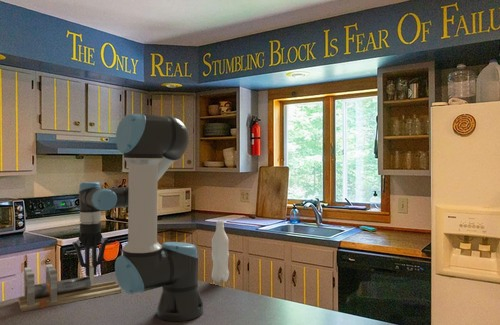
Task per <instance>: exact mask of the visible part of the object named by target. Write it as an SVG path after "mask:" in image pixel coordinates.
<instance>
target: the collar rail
mask: <svg viewBox="0 0 500 325" xmlns="http://www.w3.org/2000/svg"><path fill="white" fill-rule="evenodd" d="M23 273H24V274H23V276H24V277H23V278H24V296H18V300H17V301H18V304H19V309H20V311H21V312H26V311H32V310H35V309H44V308H47V307H52V306H56V305H57V306H58V305H63V304H68V303H73V302H78V301H83V300H88V299H93V298H94V297H95V298H100V297H104V296H110V295H115V294H120V292H121V293H122V288H121V287H120V285H119V283H117V282H116V280H111V281H105V282H101V283H98V282H97V283H94V285H91V288H90V289H87V290H81V291H75V292H70V293H64V294H59V295H57V281H58V270H57V269H56V268H55V267H54V265H53V264H52V263H51V264H50V263H49V264H45V283H48V282H50V296H48V297H42V298H36V299H35V285H36V284H35V273H34V271H33V269H32V267H30V266H28V267H24V272H23ZM99 296H100V297H99Z"/></svg>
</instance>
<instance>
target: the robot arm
mask: <svg viewBox="0 0 500 325" xmlns="http://www.w3.org/2000/svg"><path fill="white" fill-rule="evenodd" d="M116 128H117V129H116V134H115V145H116V148H117V150H118V151H119V152H120V153H122V154H123V159H124V160H125V162H126V163H127V164H128V186H125V187H123V186H121V187H106V188H104V187H103V188H102V186H101V183H100V182H99V181H84V182H80V184H79V189H78V190H79V191H78V195H79V196H78V198H79V223H80V224H79V236H78V239H77V240H76V241H73V242H72V244H71V245H73V247H74V248H75V250H76V251H75V252H76V256H77V258H78V262H79V265H80V267H82V268H84V270H85V277H87V276H89V277H90V281H91V285H94V284H95V276H96V275H97V270H98V269H97V267H98V266H100V265H101V264H102V262H103V258H104V255H105V250H106V246H107V244H108V243H109V239H108V238H107V237H104V236H103V234H102V222H101V220H102V213H101V212H102V211H110V210H111V209H119V208H127V209H128V210H127V211H128V213H127V214H128V215H127V216H128V220H127V222H128V223H127V224H128V225H127V228H128V230H127V243H126V244H125V245H124V246H123V247H122V255H119V256H118V257H117V258H116V259H115V262H114V271H115V272H114V273H115V276H116V280H117V282H118V283H117V284H119V287H120V288H121V290H123V292H125V293H127V294H129V295H133V294H139V293H140V294H141V293H142V294H143V293H144V292H147V291H148V292H149V291H150V290H155V289H158V288H162V290H161V294H160V297H159V301H158V304H157V308H156V315H157V317H158V318H159V319H161V320H163V321H167V322H185V321H190V320H194V319H197V318H198V317H200V316H202V315H203V314H204V302H203V300H202V297H201V294H200V290H199V275H198V273H199V271H198V270H199V267H198V265H199V263H198V262H199V260H198V259H199V254H198V253H199V252H198V248H197V246H196V245H195V244H193V243H188V242H180V241H165V242H163V243H162V244H160V243H159V242H158V182H159V180H161V178H162V177H163V176H164V174H165V173H166V172H167V171H168V170H169V168H170V167H171V165H172V164H173V163H174V162H176V161H179V160H180V159H181V158H182V157H183V156H184V154H185V153H186V151H187V150H188V147H189V142H190V134H189V131H188V129H187V126H186V125H185V124H184V123H183V122H182V121H181V120H180V119H178V118H177V117H174V116H170V115H169V116H168V115H155V114H148V113H147V114H146V113H145V114H144V113H128V114H126V115H125V116H124V117H122V119H121V120H120V122H119V123H118V125H117V127H116ZM80 243H81V244H80ZM99 243H100V247H99V252H98V251H97V249H98V245H99ZM81 245H82V246H83V247H84V256H83V254H82V251H81V247H80V246H81ZM90 250H91V254H90ZM97 252H98V254H97ZM90 255H91V258H90ZM83 257H84V258H83ZM90 259H91V262H90Z"/></svg>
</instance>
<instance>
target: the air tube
mask: <svg viewBox="0 0 500 325" xmlns="http://www.w3.org/2000/svg"><path fill="white" fill-rule="evenodd" d="M90 288H91V281H90V277H89V276H81V277H75V278H69V279H63V280H57V295H59V294H64V293H70V292H75V291H81V290H87V289H90ZM48 296H50V282H48V283H46V282H44V283H39V284H35V299H36V298H42V297H48Z"/></svg>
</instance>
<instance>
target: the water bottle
mask: <svg viewBox="0 0 500 325" xmlns="http://www.w3.org/2000/svg"><path fill="white" fill-rule="evenodd" d="M224 223H225V222H224V220H217V221H216V222H215V224H216V225H215V231H214V234H213V236H212V237H211V259H212V269H211V279H212V281H213V282H215V283H217V284H220V283H221V282H222V283H224V284H225V283H226V282H227V281H228V279H229V276H230V271H229V264H228V262H229V257H230V253H229V242H230V240H229V237H228V235H227V233H226V231H225V226H224V225H225V224H224Z"/></svg>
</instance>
